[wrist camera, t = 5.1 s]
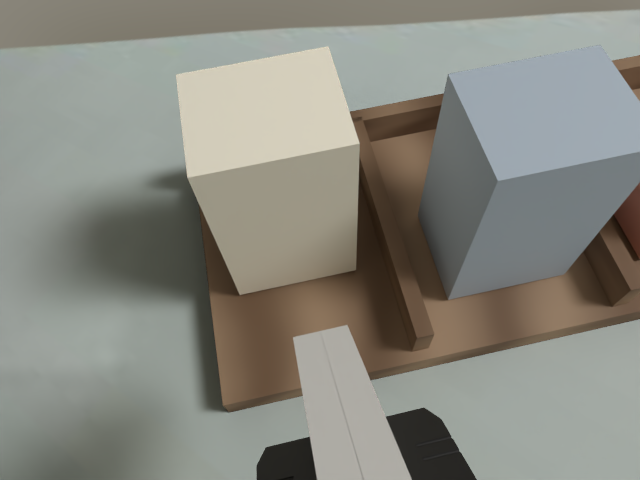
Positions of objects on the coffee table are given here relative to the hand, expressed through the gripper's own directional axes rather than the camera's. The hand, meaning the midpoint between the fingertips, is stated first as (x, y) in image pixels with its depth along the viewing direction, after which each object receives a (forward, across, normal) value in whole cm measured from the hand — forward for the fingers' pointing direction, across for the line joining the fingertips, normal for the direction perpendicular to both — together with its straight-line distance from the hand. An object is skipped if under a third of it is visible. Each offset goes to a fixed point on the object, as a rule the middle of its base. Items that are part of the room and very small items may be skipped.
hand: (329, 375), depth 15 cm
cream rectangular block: (+14, 0, 0) cm, 14 cm away
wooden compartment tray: (+15, +10, -2) cm, 18 cm away
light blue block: (+12, +10, -2) cm, 16 cm away
